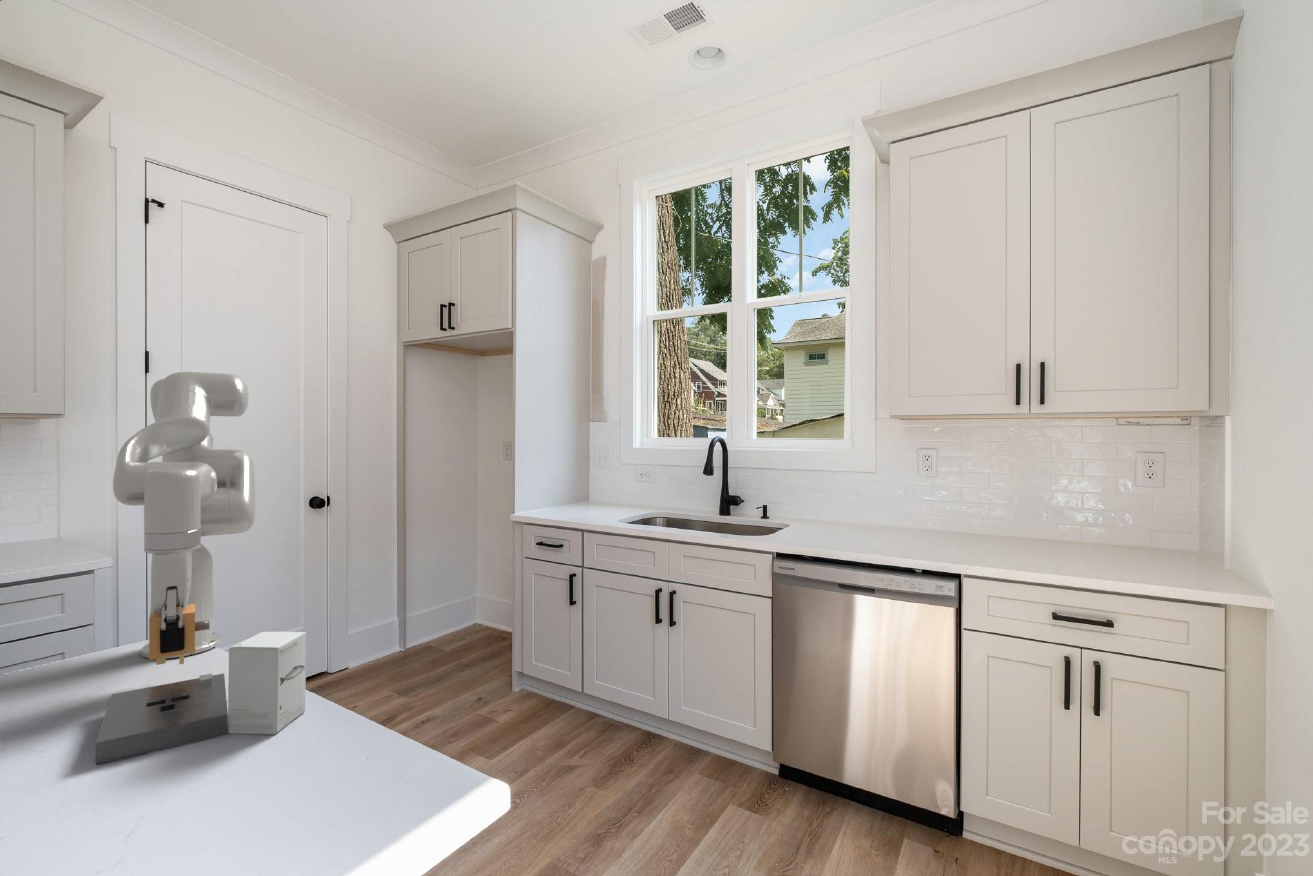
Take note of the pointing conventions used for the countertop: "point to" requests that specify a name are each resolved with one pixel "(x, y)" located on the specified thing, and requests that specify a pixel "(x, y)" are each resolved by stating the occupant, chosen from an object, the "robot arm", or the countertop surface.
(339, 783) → the countertop surface
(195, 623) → the orange block
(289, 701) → the supplement box
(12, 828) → the countertop surface
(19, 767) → the countertop surface
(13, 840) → the countertop surface
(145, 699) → the dark gray rectangular board
